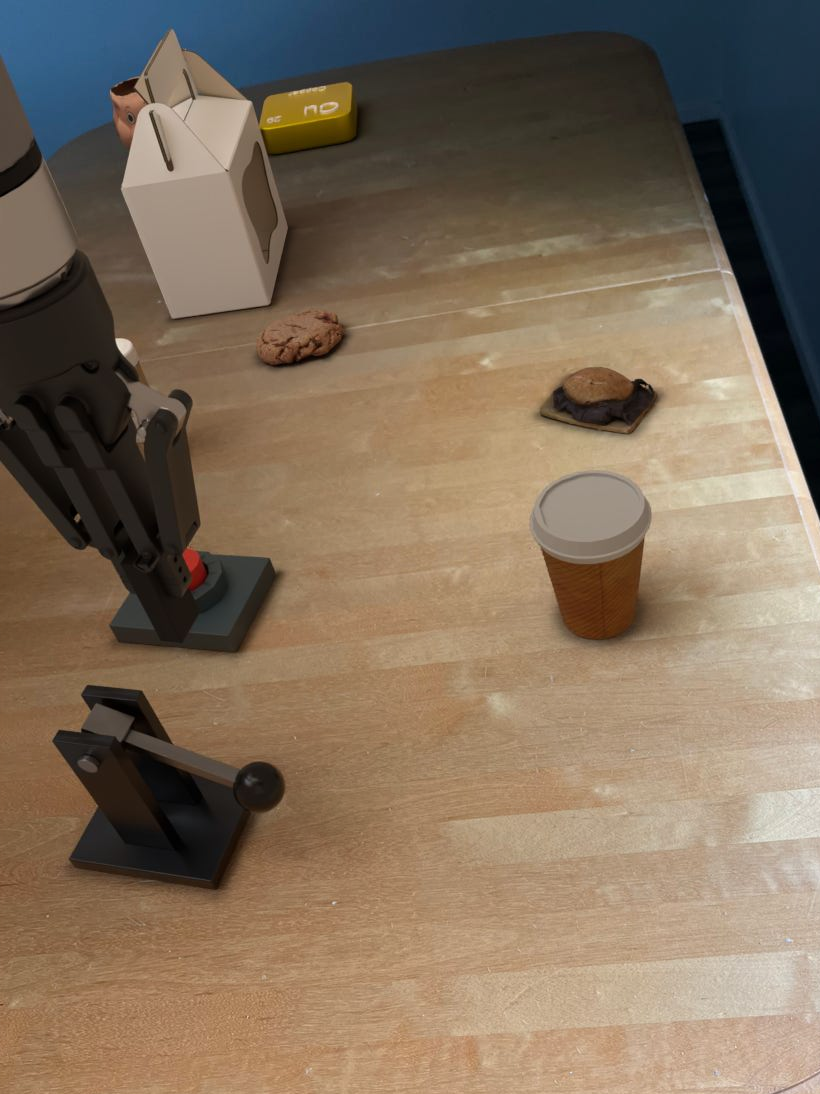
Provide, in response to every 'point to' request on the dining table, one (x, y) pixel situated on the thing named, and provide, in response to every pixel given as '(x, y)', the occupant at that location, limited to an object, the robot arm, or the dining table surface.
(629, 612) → the disposable coffee cup
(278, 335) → the cookie
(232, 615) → the control block
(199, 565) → the button
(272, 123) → the element tile
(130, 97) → the decorative planter
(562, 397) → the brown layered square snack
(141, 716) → the lever stand
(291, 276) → the dining table surface
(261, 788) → the lever handle
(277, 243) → the gable box
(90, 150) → the dining table surface
